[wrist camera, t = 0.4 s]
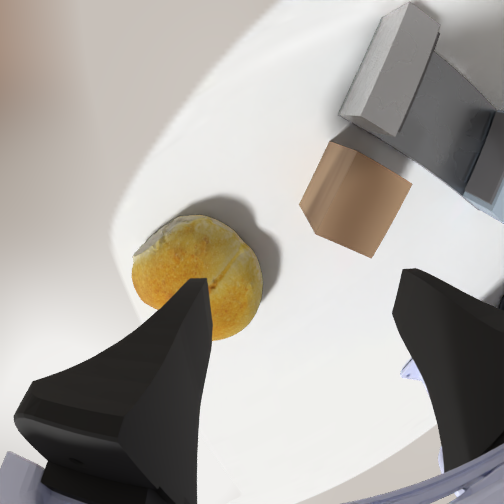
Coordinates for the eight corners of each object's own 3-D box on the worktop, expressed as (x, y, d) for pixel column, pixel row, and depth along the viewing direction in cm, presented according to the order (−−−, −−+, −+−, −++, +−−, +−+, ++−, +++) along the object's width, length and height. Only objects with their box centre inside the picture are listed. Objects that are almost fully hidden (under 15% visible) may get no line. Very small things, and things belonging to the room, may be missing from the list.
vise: (509, 128, 16) (541, 136, 12) (476, 208, 19) (506, 226, 15) (381, 17, 13) (409, 1, 10) (337, 115, 16) (360, 115, 13)
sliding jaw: (511, 126, 15) (541, 133, 12) (477, 208, 18) (505, 225, 15) (495, 107, 15) (526, 112, 12) (460, 194, 18) (489, 209, 15)
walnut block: (374, 165, 18) (412, 184, 13) (344, 224, 20) (371, 258, 15) (329, 141, 17) (357, 151, 13) (298, 204, 19) (315, 234, 14)
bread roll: (200, 337, 24) (194, 373, 20) (122, 258, 21) (101, 287, 17) (287, 288, 22) (294, 322, 18) (209, 189, 19) (199, 208, 15)
